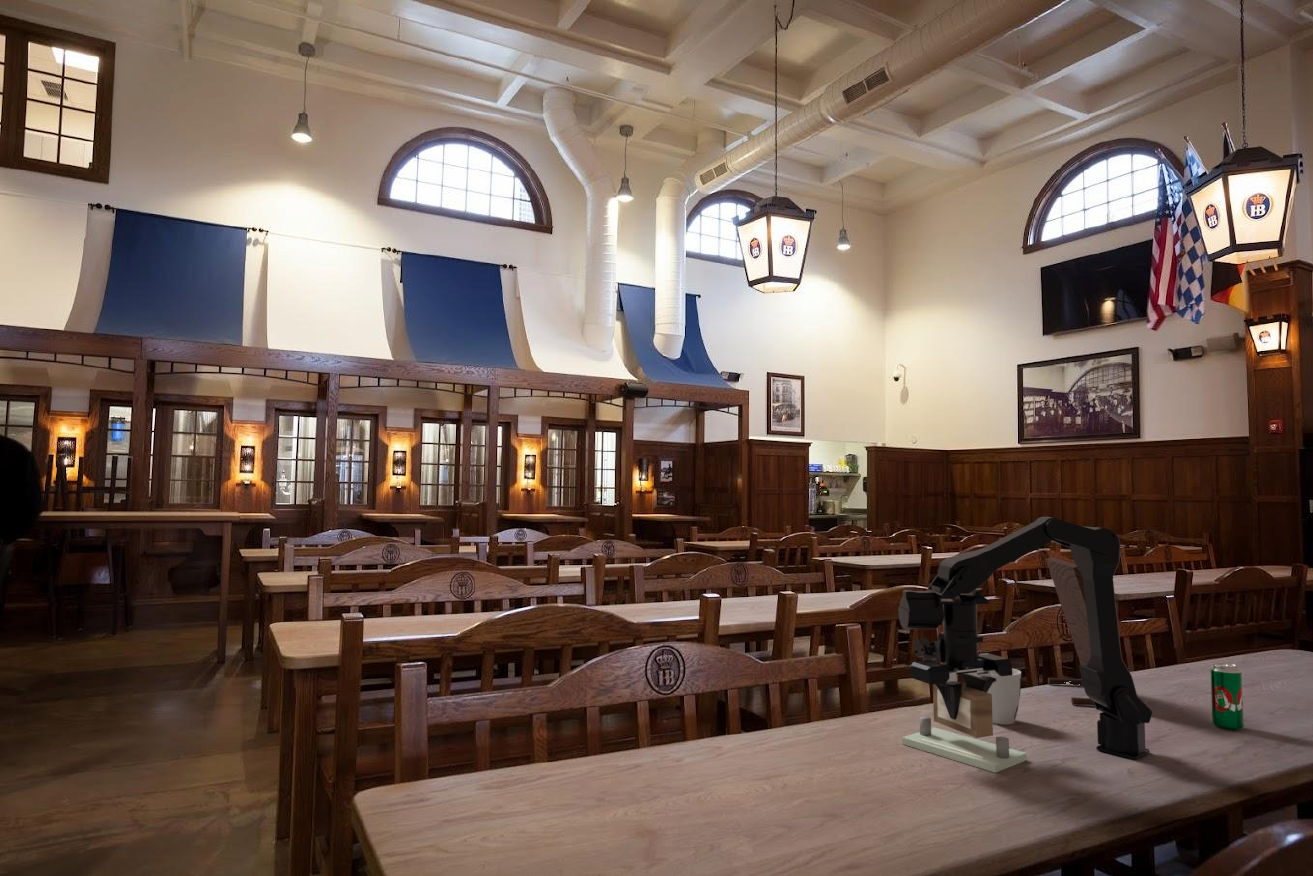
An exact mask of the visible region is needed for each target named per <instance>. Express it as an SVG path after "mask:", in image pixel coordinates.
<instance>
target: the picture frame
mask: <svg viewBox="0 0 1313 876" xmlns="http://www.w3.org/2000/svg"><path fill="white" fill-rule="evenodd" d="M1045 561H1046V563H1047V564H1046V565H1047V567H1048V569H1049V573H1050V576H1051V578H1052V582H1053V585H1054V588H1055V590H1056V595H1057V597H1058V600H1059V604H1060V605H1061V609H1062V612H1063V615H1064V619H1065V622H1066V624H1067V627H1068V630H1069V633H1070V636H1071V640H1072V642H1073V644H1074V646H1073V647H1074V648H1075V652H1076V655H1077V657H1078V660H1079V663H1080V664H1079V665H1087V664H1088V662H1089V659H1090V657H1091V650H1090V640H1089V631H1088V621H1087V612H1086V603H1085V593H1084V584H1083V577H1082V575H1081V573H1080V571H1079V569H1078V567H1077V566H1076V564H1075V563H1073V562H1069V561H1066V560H1063V559H1059V558H1057V557H1053V556H1052V557H1048V558H1045ZM1081 679H1082V678H1062V677H1061V678H1060V677H1047V684H1048V685H1060V684H1066V682H1069V681H1071V682H1069V683H1070V684H1073V685H1072V686H1080V685H1081ZM1064 682H1065V683H1064ZM1079 684H1080V685H1079ZM1070 702H1071V705H1074V704H1076V705H1078V706H1079V705H1080V706H1095V705H1094V703H1093V701H1092V700H1091V699H1090V698H1089V697H1071V698H1070Z"/></svg>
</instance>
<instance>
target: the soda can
mask: <svg viewBox="0 0 1313 876" xmlns="http://www.w3.org/2000/svg"><path fill="white" fill-rule="evenodd" d="M1211 665H1212V666H1211V667H1210V669H1209V672H1210V676H1209V677H1210V678H1209V679H1210V696H1211V697H1210V699H1211V722H1212V724H1213V725H1214V727H1216V728H1218V729H1221V730H1225V731H1234V732H1235V731H1241V730H1242V729H1243V728H1244V727H1245V721H1244V720H1245V718H1244V714H1245V713H1244V696H1243V695H1244V694H1243V692H1244V691H1243V674H1242V673H1243V672H1242V671H1241V669H1240V666H1239V665H1236V664H1232V663H1225V662H1214V663H1211Z"/></svg>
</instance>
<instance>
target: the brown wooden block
mask: <svg viewBox="0 0 1313 876" xmlns="http://www.w3.org/2000/svg"><path fill="white" fill-rule="evenodd" d="M932 693H933V694H932V698H933V700H932V701H933V705H932V706H933V722H935V723H938V724H940V725H943V726H944V727H948V728H951V729H953V730H955V731H958V732H961V733H964V734H965V735H968V736H969V737H972V738H974V739H979V738H985V737H992V736H994V732H993V731H994V723H993V717H992V694H990V693H986V692H983V691H980V690H977V689H974V688H971V687H968V686H966V685H964V684H962V689H961V696H960V703H959V709H958V714H957V718H956V720H954V719H951V718H950V716H949V713H948V710H947V708H946V705H945V702H944V700H943V697H942V695H941V693H940V691H939V689H938V687H937V686H936V685H935V684H932Z"/></svg>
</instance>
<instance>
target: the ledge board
mask: <svg viewBox="0 0 1313 876" xmlns="http://www.w3.org/2000/svg"><path fill="white" fill-rule="evenodd" d="M901 741H902V742H901V744H902V745H903V746H908V747H911V748H914V749H917V750H920V751H923V752H926V753H927V752H928V753H929V754H930V753H931V754H932V755H937V756H940V757H943V758H946V759H949V760H953V761H956V762H960V763H962V764H966V765H969V766H972V767H976V768H978V769H982V770H985V771H988V772H991V773H998V772H1001V771H1004V770H1006V769H1008V768H1011V767H1013V766H1015V765H1019V764H1021V763H1023V762H1026V761H1027V760H1028V755H1027V752H1024V751H1021V750H1017V749H1013V748H1010V738H1008V737H1005V736H996V737H995V743H991V742H987V741H984V740H981V739H979V738H975V737H972V736H967V735H963V734H959V733H956V732H952V731H949V730H946V729H943V728H937V727H934V726H933V727H932V717H930V716H924V715H921V716H919V731H918V732H915V733H912V734H908V735H906V736H903V737H902V738H901Z"/></svg>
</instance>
